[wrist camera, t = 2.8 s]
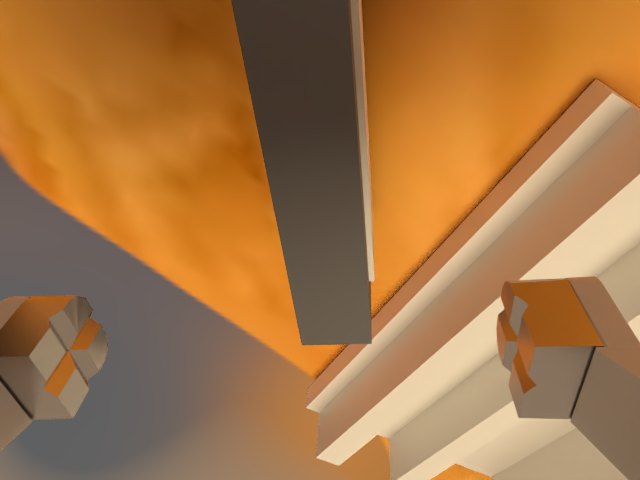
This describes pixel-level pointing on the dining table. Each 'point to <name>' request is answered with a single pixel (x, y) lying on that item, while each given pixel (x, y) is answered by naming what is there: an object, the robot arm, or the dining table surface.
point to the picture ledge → (495, 313)
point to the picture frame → (315, 155)
